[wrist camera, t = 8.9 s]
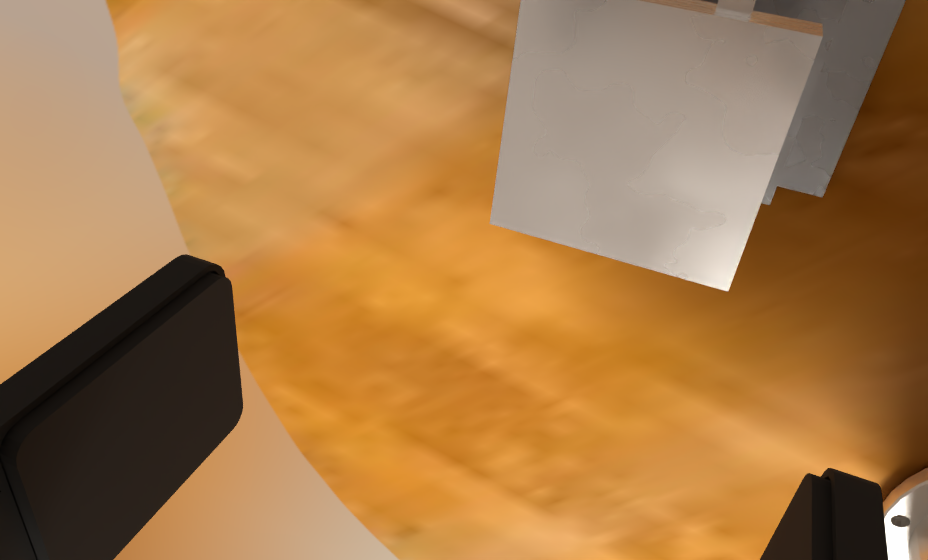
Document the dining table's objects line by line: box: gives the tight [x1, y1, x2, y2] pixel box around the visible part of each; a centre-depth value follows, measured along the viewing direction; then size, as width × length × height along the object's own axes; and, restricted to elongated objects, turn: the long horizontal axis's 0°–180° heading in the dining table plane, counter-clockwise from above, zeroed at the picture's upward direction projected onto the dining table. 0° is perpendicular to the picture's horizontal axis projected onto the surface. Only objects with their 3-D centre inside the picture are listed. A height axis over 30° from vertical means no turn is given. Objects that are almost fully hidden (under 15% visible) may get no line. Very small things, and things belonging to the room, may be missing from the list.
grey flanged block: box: [490, 0, 823, 292], centre depth 22 cm, size 7×9×9 cm
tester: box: [701, 0, 906, 205], centre depth 27 cm, size 14×12×9 cm
